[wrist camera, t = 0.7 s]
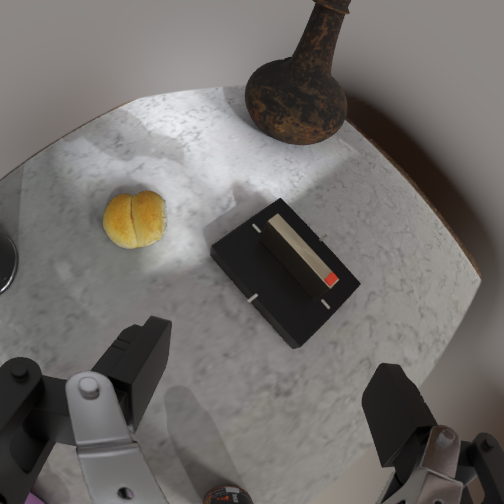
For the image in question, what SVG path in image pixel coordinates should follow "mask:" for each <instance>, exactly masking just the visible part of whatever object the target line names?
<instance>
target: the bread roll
mask: <svg viewBox="0 0 504 504" xmlns="http://www.w3.org/2000/svg"><path fill="white" fill-rule="evenodd" d="M103 226H104V229H105V232H106V233H107V235H108V237H109V238H110V239H111V240H112V241H113V242H114V243H115V244H117V245H118V246H120V247H123V248H127V249H135V248H138V247H147V246H150V245H152V244H154V243H156V242H157V241H158V240H160V239H161V238H162V237H163V235H164V233H165V231H166V230H167V211H166V202H165V200H163V199H162V198H161V196H160V195H158V194H157V193H155V192H152V191H143V192H140V193H138V194H137V195H135V196H133V195H130V194H121V195H118V196H116V197H115V198H113V199H112V200H111V201H110V203H109V204H108V206H107V208H106V210H105V212H104V216H103Z"/></svg>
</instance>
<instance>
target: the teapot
mask: <svg viewBox="0 0 504 504" xmlns="http://www.w3.org/2000/svg"><path fill="white" fill-rule="evenodd" d="M25 504H45V503H44V502H43V501H41V500H40V499H39V498H38V497H36V496H35V495H33V494H32V493H29V495H28V497H27V499H26V501H25Z"/></svg>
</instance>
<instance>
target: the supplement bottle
mask: <svg viewBox="0 0 504 504" xmlns="http://www.w3.org/2000/svg"><path fill="white" fill-rule="evenodd" d="M211 498H214V499H219V500H225V501H231V502H238V503H246V504H253V502H252V499H251V497H250V496H249V494H248V493H247V492H246V491H245V490H243V489H241V488H239V487H236V486H231V485H224V486H219V487H216V488H214V489H212V490H211V491H209V492H208V493H207V495H206V496H205V498H204V503H203V504H209V503H210V500H211Z"/></svg>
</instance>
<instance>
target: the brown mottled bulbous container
mask: <svg viewBox="0 0 504 504" xmlns="http://www.w3.org/2000/svg"><path fill="white" fill-rule="evenodd" d="M313 1H314V2H315V6H314V9H313V11H312V13H311V16H310V18H309V21H308V23H307V26H306V28H305V30H304V33H303V35H302V37H301V39H300V42H299V44H298V46H297V48H296V50H295V52H294V54H293V55H292V57H288V58H285V59H284V60H275V61H272V62H269V63H266V64H265V65H263V66H261V67H260V68H258V69H257V70H256V71H255V72H254V73H253V74H252V76H251V77H250V79H249V80H248V83H247V85H246V89H245V102H246V107H247V109H248V112H249V114H250V116H251V118H252V119H253V121H254V122H255V124H256V125H257V126H258V127H259V128H260V129H261V130H263V131H264V132H265V133H266V134H268V135H269V136H271V137H273V138H275V139H277V140H279V141H282V142H285V143H289V144H295V145H309V144H315V143H318V142H321V141H324V140H326V139H327V138H329V137H331V136H332V135H334V134H335V133H336V132H337V131H338V130H339V129H340V127H341V126H342V124H343V123H344V120H345V118H346V114H347V101H346V97H345V94H344V91H343V89H342V88H341V86H340V85H339V83H338V82H337V81H336V80H335V79H334V78H333V77H332V76H331V66H332V59H333V55H334V50H335V46H336V42H337V39H338V35H339V32H340V29H341V25H342V22H343V19H344V16H345V14H349V10H348V6H349V4H350V2H351V0H313Z"/></svg>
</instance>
